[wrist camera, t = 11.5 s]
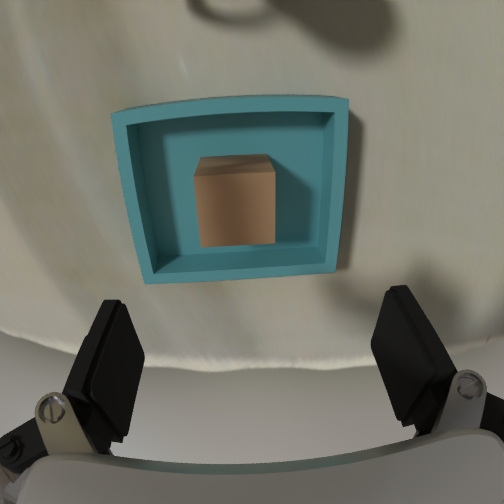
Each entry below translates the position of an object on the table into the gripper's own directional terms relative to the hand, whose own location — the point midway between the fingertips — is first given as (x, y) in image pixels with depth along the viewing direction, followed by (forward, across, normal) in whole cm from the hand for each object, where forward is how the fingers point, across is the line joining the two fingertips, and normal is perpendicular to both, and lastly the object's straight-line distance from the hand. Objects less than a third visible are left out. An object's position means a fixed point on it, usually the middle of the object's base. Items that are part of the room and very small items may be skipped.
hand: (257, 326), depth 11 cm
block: (+16, +1, 0) cm, 16 cm away
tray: (+16, +1, 0) cm, 16 cm away
